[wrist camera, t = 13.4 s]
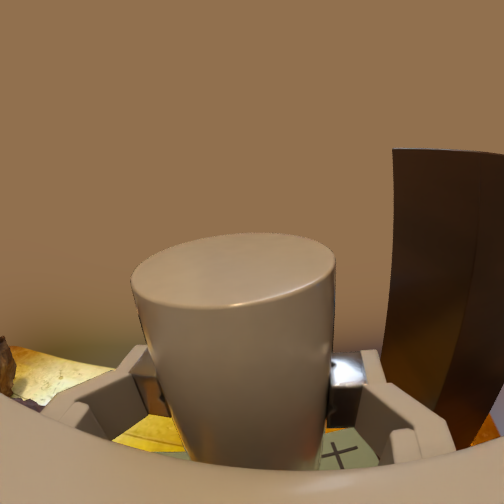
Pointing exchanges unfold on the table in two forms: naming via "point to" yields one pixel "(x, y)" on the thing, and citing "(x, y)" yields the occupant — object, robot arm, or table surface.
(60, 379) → the table surface
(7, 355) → the stone
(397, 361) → the pedestal
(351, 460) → the game board
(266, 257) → the beige tapered cylinder
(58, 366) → the table surface
